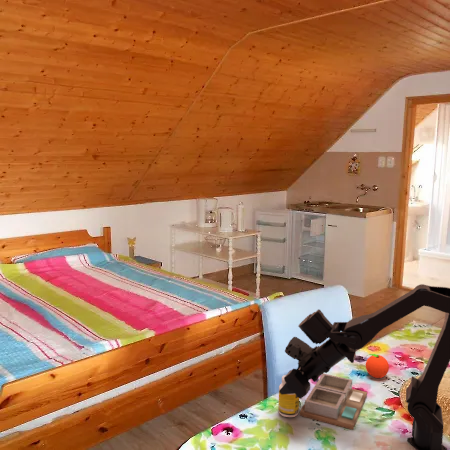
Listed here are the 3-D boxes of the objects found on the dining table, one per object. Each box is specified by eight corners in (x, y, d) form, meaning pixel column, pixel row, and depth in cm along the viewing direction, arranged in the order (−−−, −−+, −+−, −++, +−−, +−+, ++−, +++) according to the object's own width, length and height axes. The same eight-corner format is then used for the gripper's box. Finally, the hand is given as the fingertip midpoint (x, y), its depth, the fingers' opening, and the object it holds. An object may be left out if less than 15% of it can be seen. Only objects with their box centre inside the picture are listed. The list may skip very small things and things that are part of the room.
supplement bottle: (298, 419, 123) (299, 383, 121) (277, 416, 124) (277, 381, 122) (299, 408, 128) (300, 373, 127) (279, 406, 129) (279, 372, 128)
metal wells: (337, 419, 122) (337, 409, 121) (304, 411, 125) (305, 400, 125) (351, 389, 137) (352, 379, 137) (322, 382, 141) (322, 373, 140)
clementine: (357, 374, 149) (358, 353, 148) (370, 368, 153) (371, 347, 152) (380, 384, 143) (381, 362, 142) (392, 377, 147) (394, 355, 146)
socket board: (353, 429, 119) (353, 423, 119) (299, 415, 126) (299, 409, 125) (366, 396, 136) (367, 390, 136) (318, 385, 142) (319, 379, 142)
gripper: (315, 319, 129) (276, 350, 136) (292, 343, 113) (250, 378, 119) (343, 352, 127) (302, 382, 133) (324, 382, 110) (279, 414, 117)
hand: (284, 387), depth 126 cm, fingers closed on supplement bottle, 5 cm apart
